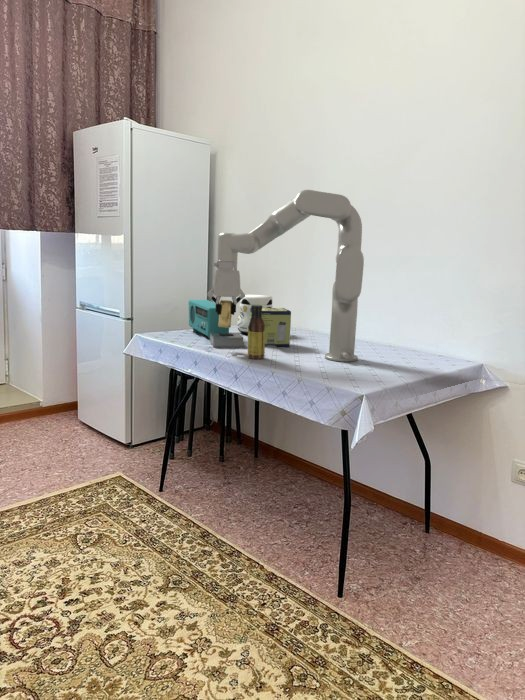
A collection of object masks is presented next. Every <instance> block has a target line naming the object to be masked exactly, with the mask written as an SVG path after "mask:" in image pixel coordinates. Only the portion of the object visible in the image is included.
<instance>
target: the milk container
mask: <svg viewBox="0 0 525 700" xmlns="http://www.w3.org/2000/svg"><path fill="white" fill-rule="evenodd" d="M251 305H262V308H273V296H271V295H266V294H245V297H244V298H243V299H241V300H240V301H239V315H238V317H237V320H236V321H237V322H236V323H237V324H236V325H237V330H238V331H239V333H242V334H247V335H248V326H249V323H250V308H251Z"/></svg>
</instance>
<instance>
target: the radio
mask: <svg viewBox="0 0 525 700" xmlns="http://www.w3.org/2000/svg"><path fill="white" fill-rule="evenodd" d="M218 322H219V315H218V314H217V312H216V303H215V302H214V301H211V300H208V299H189V300H188V325H189V327H191V328H192V332H193V333H201V334H203V335H205V336H207V337H208V340H210V333H230V328H224V327H219V326H218Z"/></svg>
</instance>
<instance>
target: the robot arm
mask: <svg viewBox="0 0 525 700" xmlns="http://www.w3.org/2000/svg"><path fill="white" fill-rule="evenodd" d="M311 216H313V217H314V216H315V217H320V218H327V219H331V220H332V221H334V222H335V223H336V224H337V227H338V235H337V236H338V237H337V238H338V239H337V241H338V243H337V251H336V256H335V263H336V266H335V267H336V268H335V278H334V279H335V280H334V283H333V286H332V293H331V294H332V297H331V318H330V332H329V349H328V352H327V353H325V354H324V358H325V359H326V360H329V361H333V362H355V361H358V359H359V356H358V355H356V354H355V347H356V334H357V332H356V331H357V319H358V307H359V306H358V305H359V304H358V303H359V301H358V300H359V297H360V295H361V293H362V287H363V277H364V275H363V274H364V267H365V266H364V265H365V264H364V261H365V257H364V253H363V252H362V241H363V239H362V237H363V235H362V234H363V223H362V218H361V216H360V214H359V212H358V210H357V209H356V208H355V207H354V206H353V205H352V204H351V201H350V200H349V198H348V197H347V196H345V195H343V194H337V193H330V192H324V191H318V190H313V189H304V190H303V189H302V190H301V191H299V193H297V195H296V197H294V198H293V199H290V201H288V202H287V203H285V204H284V205H282V206H281V207H280V208H278V209H276V210H275V211H273V212H272V213H271V214H270V215H269V216H268V217H267V219H266V220H264V221H263V222H262V223H261V224H259V226H257V227H255V228H254V229H253V230H251V231H250V232H247V233H234V232H233V233H231V232H221V233H219V234H218V236H217V237H218V238H217V261H216V262H213V264H212V265H213V267H216V268H217V269H215V270H214V275H213V283H212V287H211V289H209V291H208V292H207V293H206V296H207V297H209V298H210V299H211V300H212V302H214V303H216V312H217V314H218V315H219V314H220V301H221V297H222V298H223V297H225V298H231V301H232V316H235V314H236V312H237V304H238V303H240V300H241V299H243V298H244V297H245V295H246V294H245V292H243V290H242V288H241V275H240V274H241V273H240V270H238V253H240V254H244V255H250V254H251V255H252V254H255V253H256V252H258V251H259V250H261V249H262V248H263V247H265V246H266V245H268V244H269V243H271V242H272V241H274V240H275V239H277V238H278V237H281V236H283V235H284V234H285V233H287V232H288V231H290V230H291V229H293V228H294V227H296V226H297V225H299V224H300V223H301V222H303V221H305V220H307V218H310V217H311Z"/></svg>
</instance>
